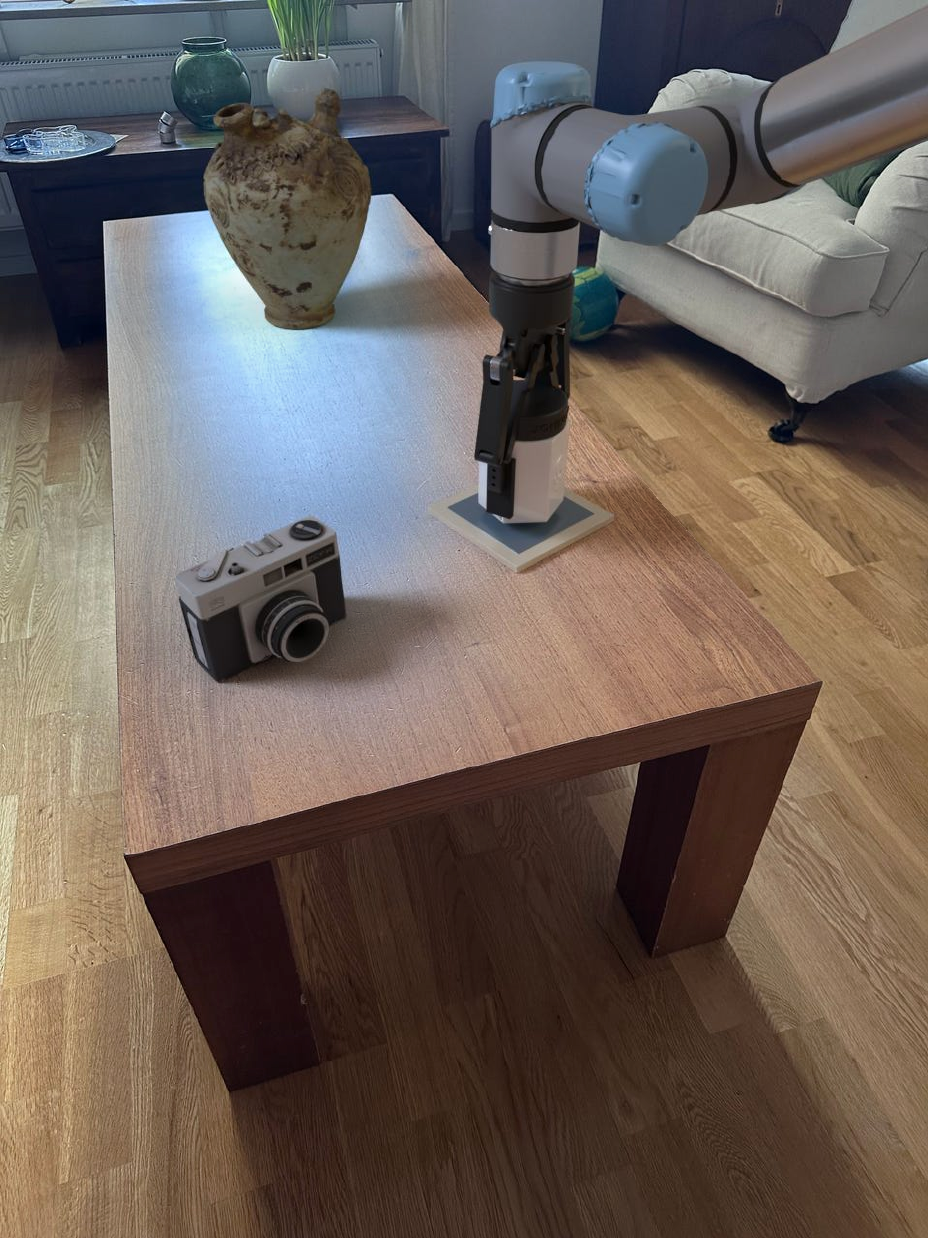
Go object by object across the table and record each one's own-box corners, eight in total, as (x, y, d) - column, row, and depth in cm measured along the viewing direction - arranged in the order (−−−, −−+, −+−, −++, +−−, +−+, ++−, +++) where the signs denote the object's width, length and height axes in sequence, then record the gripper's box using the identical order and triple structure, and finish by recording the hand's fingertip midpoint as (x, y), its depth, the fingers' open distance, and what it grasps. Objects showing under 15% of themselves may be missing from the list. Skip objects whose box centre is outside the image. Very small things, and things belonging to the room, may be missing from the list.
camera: (226, 710, 72) (201, 613, 66) (188, 651, 78) (162, 557, 72) (375, 647, 78) (365, 553, 72) (328, 597, 84) (316, 506, 78)
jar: (540, 534, 88) (547, 426, 80) (467, 514, 91) (467, 407, 83) (572, 491, 94) (582, 387, 87) (503, 474, 97) (507, 371, 89)
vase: (403, 331, 129) (367, 96, 109) (243, 361, 126) (178, 127, 107) (378, 280, 146) (344, 70, 127) (238, 306, 144) (181, 96, 124)
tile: (613, 521, 93) (614, 514, 93) (516, 573, 86) (517, 566, 86) (522, 469, 101) (523, 462, 101) (427, 513, 94) (427, 505, 94)
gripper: (547, 230, 86) (534, 438, 100) (431, 303, 71) (437, 533, 86) (619, 243, 83) (595, 454, 98) (514, 321, 69) (505, 555, 83)
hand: (521, 491), depth 92 cm, fingers closed on jar, 9 cm apart
